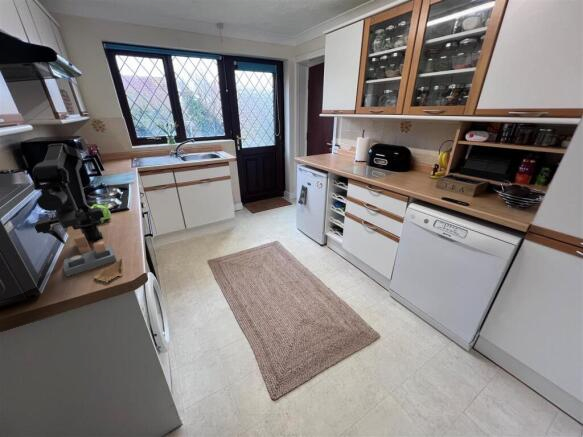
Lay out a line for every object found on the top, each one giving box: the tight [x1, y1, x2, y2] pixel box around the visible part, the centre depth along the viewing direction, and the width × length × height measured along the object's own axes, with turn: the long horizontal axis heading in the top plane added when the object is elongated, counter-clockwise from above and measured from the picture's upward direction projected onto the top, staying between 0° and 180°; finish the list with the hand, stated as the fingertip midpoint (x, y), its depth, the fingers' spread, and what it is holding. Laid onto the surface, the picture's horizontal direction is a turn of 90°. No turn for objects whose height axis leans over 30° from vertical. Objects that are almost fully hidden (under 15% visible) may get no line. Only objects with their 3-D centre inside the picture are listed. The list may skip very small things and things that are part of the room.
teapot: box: [90, 202, 112, 224], centre depth 119 cm, size 11×12×8 cm
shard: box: [93, 258, 123, 282], centre depth 82 cm, size 11×8×2 cm
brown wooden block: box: [73, 233, 92, 255], centre depth 91 cm, size 3×3×8 cm
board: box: [63, 240, 117, 277], centre depth 86 cm, size 9×14×6 cm, turn 131°
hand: (80, 239), depth 90 cm, fingers open, 9 cm apart
